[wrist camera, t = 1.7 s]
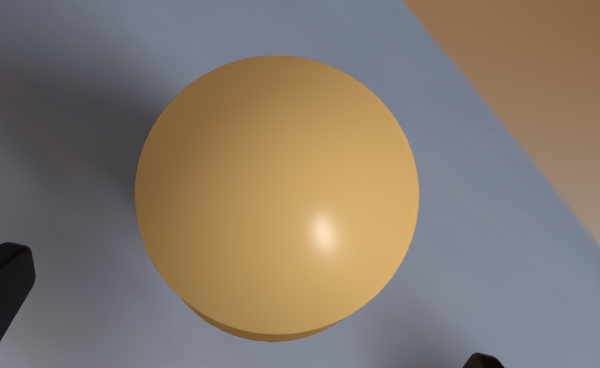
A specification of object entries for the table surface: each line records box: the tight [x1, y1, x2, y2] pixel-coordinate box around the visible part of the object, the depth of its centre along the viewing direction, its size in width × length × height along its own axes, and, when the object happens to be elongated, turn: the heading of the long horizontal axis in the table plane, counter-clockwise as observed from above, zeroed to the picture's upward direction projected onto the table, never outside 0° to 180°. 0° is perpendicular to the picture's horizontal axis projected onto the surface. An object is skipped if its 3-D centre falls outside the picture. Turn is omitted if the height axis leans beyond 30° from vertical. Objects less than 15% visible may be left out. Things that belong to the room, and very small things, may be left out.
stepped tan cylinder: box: [135, 56, 419, 342], centre depth 12 cm, size 5×5×12 cm
